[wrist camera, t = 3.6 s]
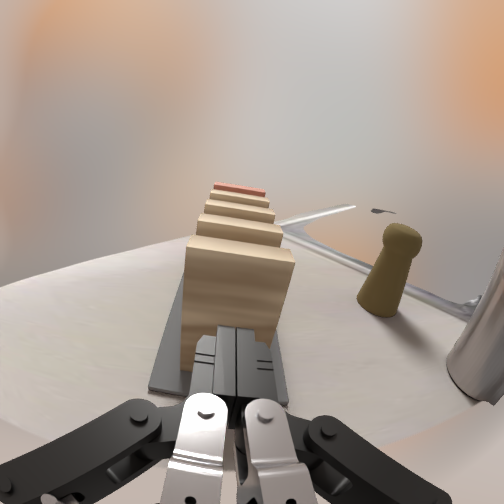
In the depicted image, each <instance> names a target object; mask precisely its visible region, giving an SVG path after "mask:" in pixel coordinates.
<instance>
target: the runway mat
mask: <svg viewBox="0 0 504 504" xmlns="http://www.w3.org/2000/svg"><path fill="white" fill-rule="evenodd" d="M183 282H184V273H183V276H182V279H181V282H180V285H179V288H178V291H177V294H176V297H175V300H174V303H173V306H172V309H171V312H170V315H169V318H168V321H167V324H166V327H165V330H164V333H163V337H162V340H161V343H160V346H159V350H158V353H157V357H156V360H155V363H154V367H153V370H152V374H151V377H150V381H149V384H148V389H149V390H153V391H158V392H164V393H169V394H175V395H181V396H187V397H188V395H189V392H190V386H191V379H192V372H189V371H183V370H180V343H181V316H182V297H183ZM270 351H271V355H272V363H273V368H274V369H273V371H274V375H275V382H276V389H277V396H278V401H279V404H280V405H288V403H289V399H288V393H287V388H286V382H285V376H284V370H283V365H282V359H281V353H280V348H279V342H278V337H277V331H275V334H274V337H273V340H272V343H271V347H270Z"/></svg>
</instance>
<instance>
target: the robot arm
mask: <svg viewBox="0 0 504 504" xmlns="http://www.w3.org/2000/svg"><path fill="white" fill-rule="evenodd" d="M447 368H448V370H449V373H450V375H451V377H452V378H453V380H454V381H455V383H456V384H457V385H458V386H459V387H460V388H461V389H462V390H463V391H464V392H465V393H466V394H468V395H469V396H471V397H473V398H474V399H477V400H480V401H486V402H489V403H490V404H492V405H495V404H496V403H497V402H498V400H499V399H500V398H501V397H502V396H503V395H504V248H503V250H502V253H501V255H500V258H499V261H498V263H497V265H496V268H495V270H494V273H493V275H492V277H491V279H490V281H489V284H488V286H487V288H486V290H485V292H484V294H483V296H482V298H481V300H480V302H479V304H478V306H477V308H476V309H475V311H474V313H473V315H472V317H471V319H470V320H469V322H468V324H467V326H466V327H465V329H464V331H463V332H462V334H461V336H460V337H459V339H458V340H457V341H456V343H455V345H454V347H453V348H452V350H451V351H450V353H449V354H448V357H447ZM273 369H274V368H273V363H272V355H271V351H270V349H269V348H268V346H267V345H266V343H265V342H256V341H255V334H254V329H249V328H240V327H236V329H235V327H232V326H225V325H218V326H217V332H216V337H215V336H208V335H203V336H202V337H201V339H200V340H199V341H198V342H197V346H196V353H195V359H194V365H193V372H192V379H191V386H190V392H189V395H188V397H187V398H186V399H185V400H184V401H183V402H182V403H180V404H178V405H175V406H170V407H159V408H157V407H156V406H155V405H154V404H153V403H151V402H150V401H147V400H144V399H131V400H128V401H126V402H124V403H123V404H121V405H119V406H118V407H116V408H114V409H112V410H110V411H109V412H107V413H105V414H103V415H102V416H100V417H98V418H96V419H94V420H92V421H91V422H89V423H87V424H85V425H83V426H81V427H79V428H77V429H76V430H74V431H72V432H70V433H68V434H66V435H64V436H62V437H60V438H58V439H56V440H54V441H52V442H50V443H48V444H46V445H44V446H41V447H39V448H37V449H35V450H33V451H31V452H29V453H26V454H24V455H22V456H20V457H17V458H15V459H13V460H11V461H8V462H6V463H3V464H1V465H0V501H1V502H2V503H4V504H94V503H95V502H97V501H99V500H101V499H103V498H104V497H106V496H107V495H109V494H111V493H113V492H114V491H116V490H118V489H119V488H121V487H122V486H124V485H125V484H127V483H129V482H130V481H132V480H133V479H135V478H136V477H138V476H139V475H141V474H142V473H144V472H145V471H147V470H148V469H149V468H151V467H152V466H154V465H155V464H157V463H158V462H159V461H161V460H162V459H167V458H170V461H169V465H168V469H167V473H166V478H165V482H164V487H163V492H162V496H161V501H160V503H157V504H220V496H221V485H222V476H223V465H222V461H223V451H224V441H225V432H226V428H227V425H228V429H235V440H234V443H233V452H234V461H235V470H236V478H237V504H318V503H317V499H316V496H315V492H316V493H318V494H319V495H320V496H321V497H323V498H324V499H326V500H327V501H328V502H330V503H331V504H452V500H451V497H450V496H449V494H448V493H446V492H445V491H443V490H441V489H439V488H438V487H436V486H434V485H433V484H431V483H429V482H427V481H426V480H424V479H423V478H421V477H419V476H418V475H416V474H415V473H413V472H412V471H410V470H408V469H407V468H405V467H404V466H402V465H401V464H399V463H398V462H396V461H395V460H393V459H392V458H390V457H389V456H387V455H386V454H385V453H383V452H382V451H380V450H379V449H377V448H376V447H375V446H373V445H372V444H370V443H369V442H368V441H366V440H365V439H363V438H362V437H361V436H359V435H358V434H357V433H355V432H354V431H353V430H351V429H350V428H349V427H347V426H346V425H345V424H343V423H342V422H341V421H339V420H338V419H336V418H334V417H332V416H327V415H323V416H318V417H316V418H314V419H313V420H312V421H309V420H305V419H302V418H298V417H295V416H292V415H290V414H288V413H287V412H286V411H285V410H284V409H283V408H282V406H281V405H280V404H279V401H278V396H277V389H276V382H275V375H274V371H273ZM314 491H315V492H314Z"/></svg>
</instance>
